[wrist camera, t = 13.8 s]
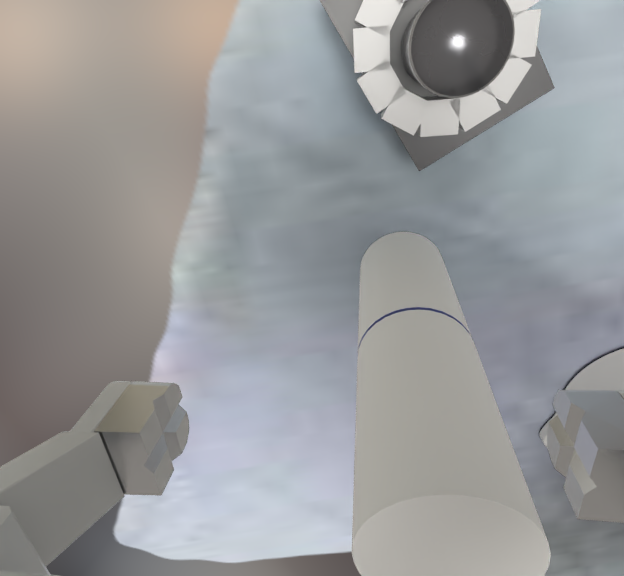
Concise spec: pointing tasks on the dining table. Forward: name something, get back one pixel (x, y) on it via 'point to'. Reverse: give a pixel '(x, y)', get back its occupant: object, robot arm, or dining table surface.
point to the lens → (458, 45)
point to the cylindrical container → (431, 433)
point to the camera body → (418, 100)
